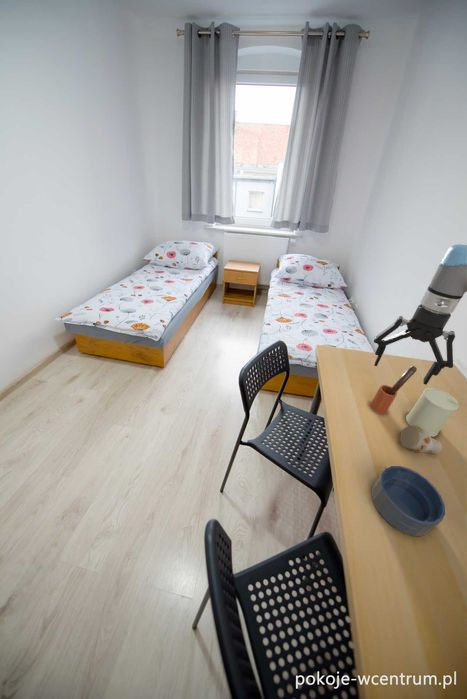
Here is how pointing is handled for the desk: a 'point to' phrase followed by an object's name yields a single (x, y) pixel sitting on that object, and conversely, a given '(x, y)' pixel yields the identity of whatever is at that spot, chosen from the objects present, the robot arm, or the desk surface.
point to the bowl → (408, 501)
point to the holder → (382, 399)
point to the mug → (419, 440)
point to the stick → (402, 380)
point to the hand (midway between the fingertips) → (399, 372)
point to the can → (432, 411)
